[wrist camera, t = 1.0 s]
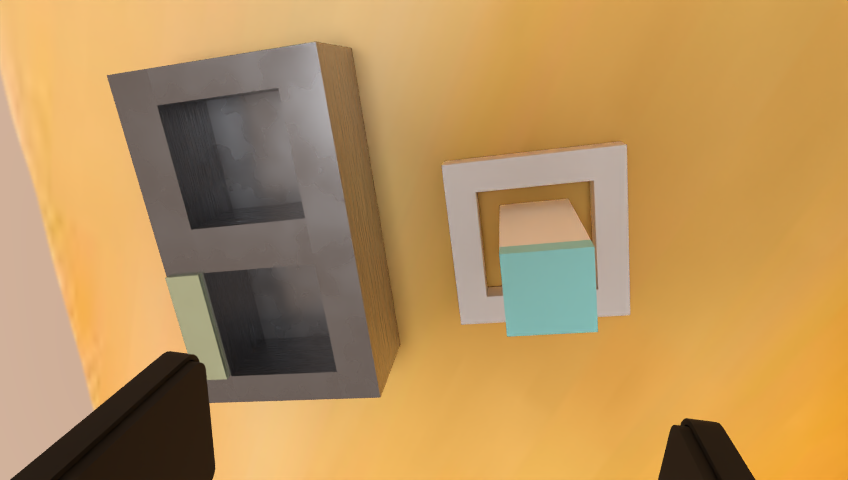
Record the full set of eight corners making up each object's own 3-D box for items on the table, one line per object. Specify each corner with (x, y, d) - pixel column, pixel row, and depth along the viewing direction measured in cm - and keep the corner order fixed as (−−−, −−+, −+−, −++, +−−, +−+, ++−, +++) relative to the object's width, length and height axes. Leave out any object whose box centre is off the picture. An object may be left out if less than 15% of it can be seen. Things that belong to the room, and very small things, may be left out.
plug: (568, 198, 30) (594, 246, 22) (571, 262, 31) (597, 331, 23) (499, 205, 31) (499, 254, 22) (505, 267, 32) (507, 336, 23)
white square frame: (620, 141, 29) (626, 144, 27) (624, 304, 32) (630, 314, 30) (444, 161, 30) (441, 165, 29) (462, 313, 33) (461, 324, 32)
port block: (351, 48, 29) (313, 41, 23) (400, 344, 35) (379, 400, 29) (178, 75, 31) (102, 75, 25) (250, 352, 37) (201, 406, 31)
